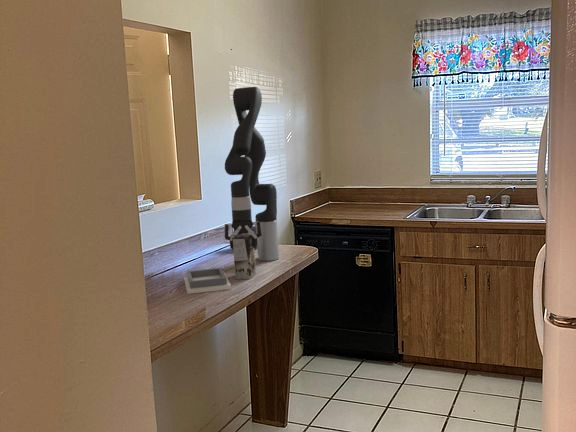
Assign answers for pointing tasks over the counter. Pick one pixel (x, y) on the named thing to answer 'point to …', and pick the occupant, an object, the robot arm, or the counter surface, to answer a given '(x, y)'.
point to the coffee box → (244, 256)
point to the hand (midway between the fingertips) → (243, 248)
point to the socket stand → (206, 280)
